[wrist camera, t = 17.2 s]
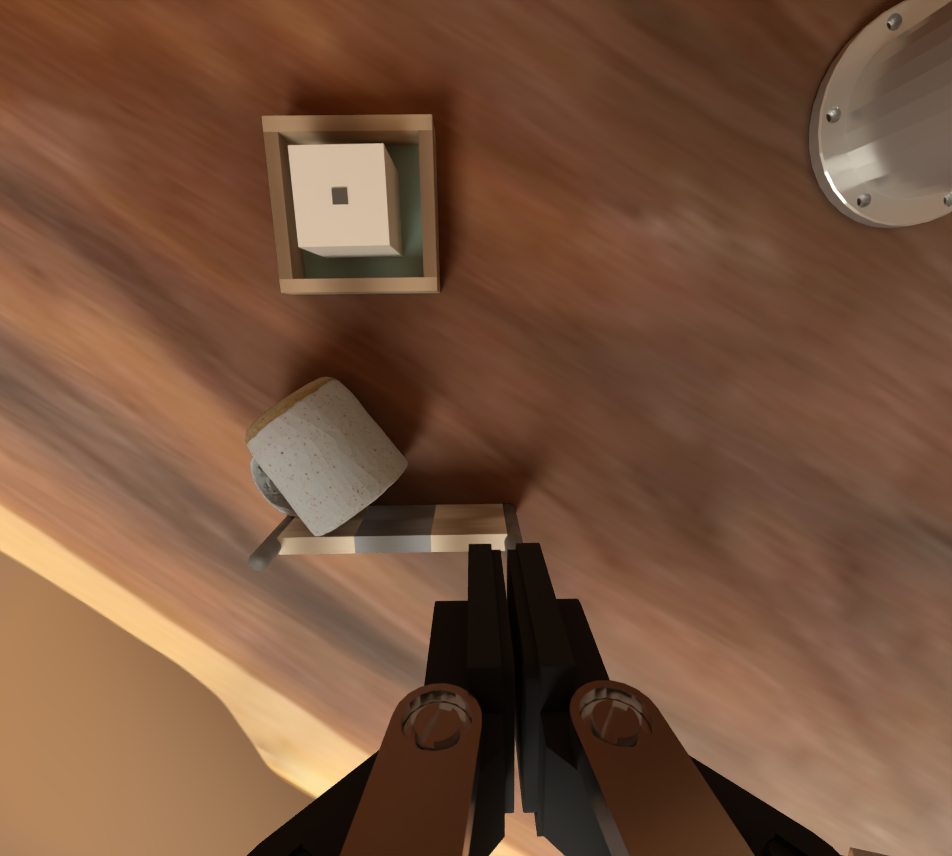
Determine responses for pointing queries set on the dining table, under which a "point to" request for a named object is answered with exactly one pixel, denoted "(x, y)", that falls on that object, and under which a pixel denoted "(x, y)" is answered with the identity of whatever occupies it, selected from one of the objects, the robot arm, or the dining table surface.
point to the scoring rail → (398, 532)
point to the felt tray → (417, 175)
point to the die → (346, 200)
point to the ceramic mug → (321, 456)
